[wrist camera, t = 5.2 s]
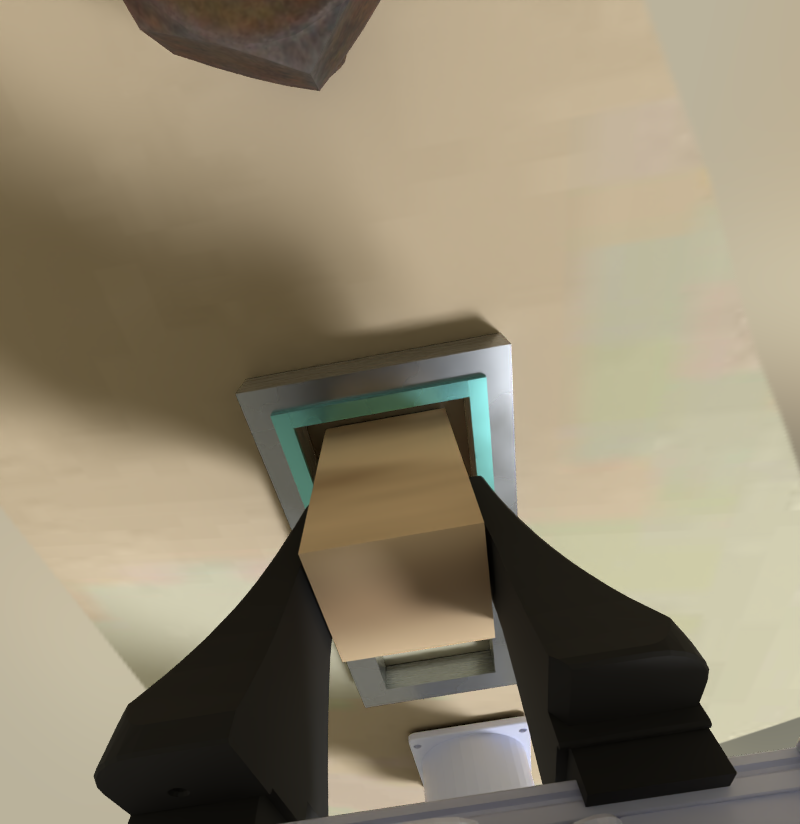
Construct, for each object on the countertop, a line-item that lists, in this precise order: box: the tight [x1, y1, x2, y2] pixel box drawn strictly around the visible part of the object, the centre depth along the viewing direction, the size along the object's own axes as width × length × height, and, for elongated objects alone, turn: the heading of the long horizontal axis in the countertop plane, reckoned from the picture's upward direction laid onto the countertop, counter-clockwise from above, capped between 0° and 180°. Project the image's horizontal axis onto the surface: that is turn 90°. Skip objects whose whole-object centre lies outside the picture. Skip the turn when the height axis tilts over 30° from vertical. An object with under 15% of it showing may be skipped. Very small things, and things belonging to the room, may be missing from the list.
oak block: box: [298, 408, 495, 662], centre depth 13 cm, size 4×4×6 cm
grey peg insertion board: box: [236, 333, 518, 708], centre depth 18 cm, size 20×9×1 cm, turn 10°
